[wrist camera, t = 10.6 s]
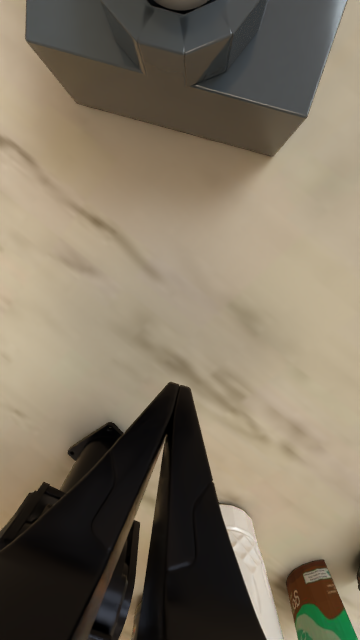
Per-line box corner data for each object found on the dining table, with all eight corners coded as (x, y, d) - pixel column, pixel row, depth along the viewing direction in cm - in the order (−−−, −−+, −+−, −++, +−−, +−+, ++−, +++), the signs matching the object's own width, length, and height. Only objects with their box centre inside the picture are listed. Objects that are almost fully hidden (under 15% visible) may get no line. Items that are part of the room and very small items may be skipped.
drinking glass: (243, 492, 25) (273, 642, 15) (267, 538, 27) (306, 697, 17) (178, 509, 26) (168, 656, 17) (204, 552, 28) (209, 706, 19)
